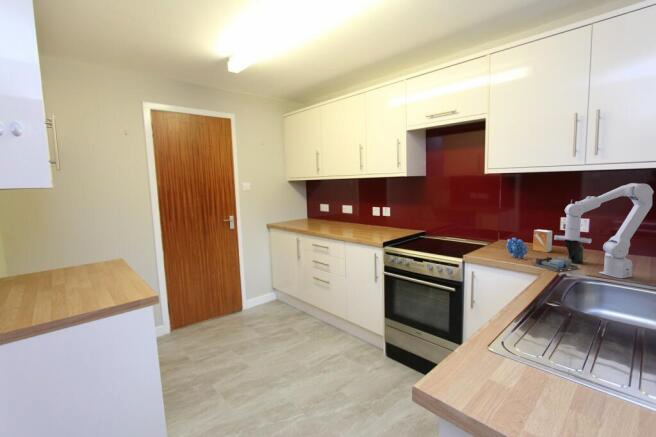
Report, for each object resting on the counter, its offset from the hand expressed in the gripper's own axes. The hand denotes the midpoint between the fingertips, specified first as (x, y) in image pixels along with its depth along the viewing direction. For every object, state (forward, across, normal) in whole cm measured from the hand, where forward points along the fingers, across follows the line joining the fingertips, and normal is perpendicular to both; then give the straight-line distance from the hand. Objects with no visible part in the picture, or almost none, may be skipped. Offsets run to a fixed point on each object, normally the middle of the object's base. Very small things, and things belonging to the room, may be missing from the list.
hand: (571, 255), depth 157 cm
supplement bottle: (+9, +3, -22) cm, 24 cm away
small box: (+9, +24, -41) cm, 48 cm away
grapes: (+9, +30, -12) cm, 33 cm away
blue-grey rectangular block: (+7, +8, -4) cm, 11 cm away
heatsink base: (+9, +8, -6) cm, 13 cm away
